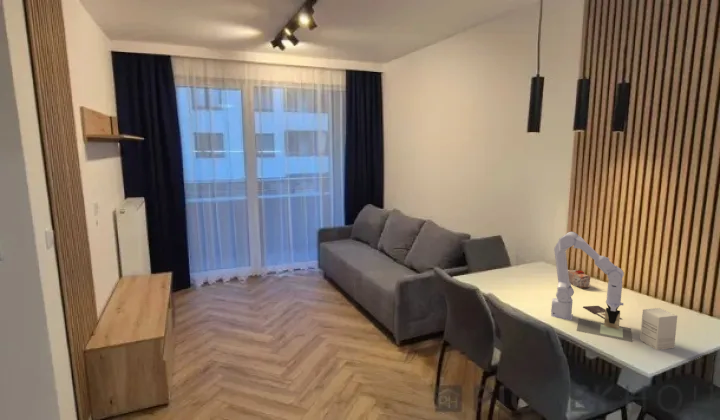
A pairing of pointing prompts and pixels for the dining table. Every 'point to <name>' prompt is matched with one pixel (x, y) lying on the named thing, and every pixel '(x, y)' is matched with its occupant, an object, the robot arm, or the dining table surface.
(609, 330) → the mat
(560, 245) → the robot arm
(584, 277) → the food item
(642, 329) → the supplement box
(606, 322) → the tile
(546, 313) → the dining table surface
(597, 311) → the chocolate bar
